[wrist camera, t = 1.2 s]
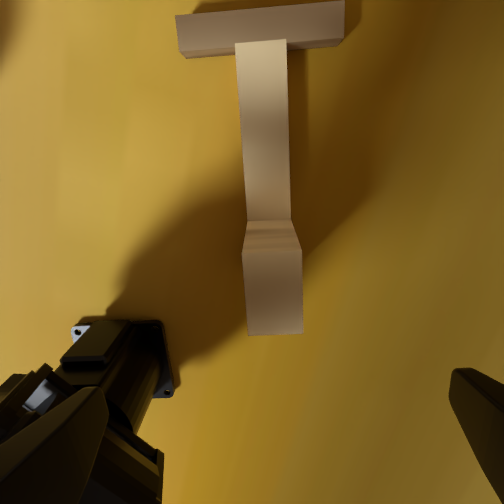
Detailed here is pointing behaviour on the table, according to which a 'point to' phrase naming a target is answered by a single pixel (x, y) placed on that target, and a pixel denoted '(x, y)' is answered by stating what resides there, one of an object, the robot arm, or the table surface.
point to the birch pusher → (266, 141)
